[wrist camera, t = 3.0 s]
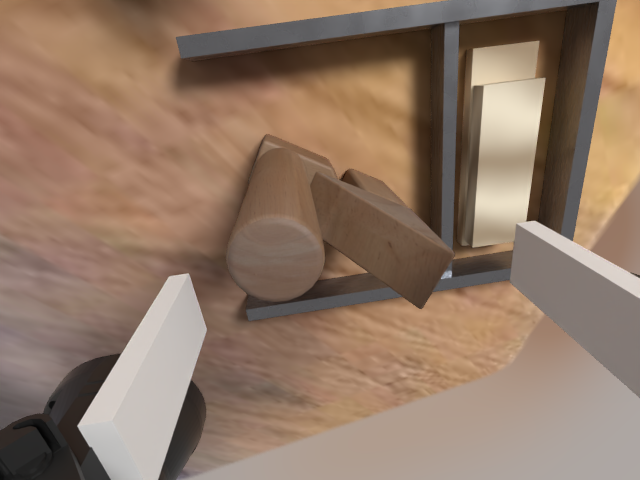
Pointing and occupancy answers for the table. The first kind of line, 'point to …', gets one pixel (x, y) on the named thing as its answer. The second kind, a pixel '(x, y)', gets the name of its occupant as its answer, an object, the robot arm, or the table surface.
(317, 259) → the wooden block
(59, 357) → the table surface
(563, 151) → the tray
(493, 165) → the offcut stack
